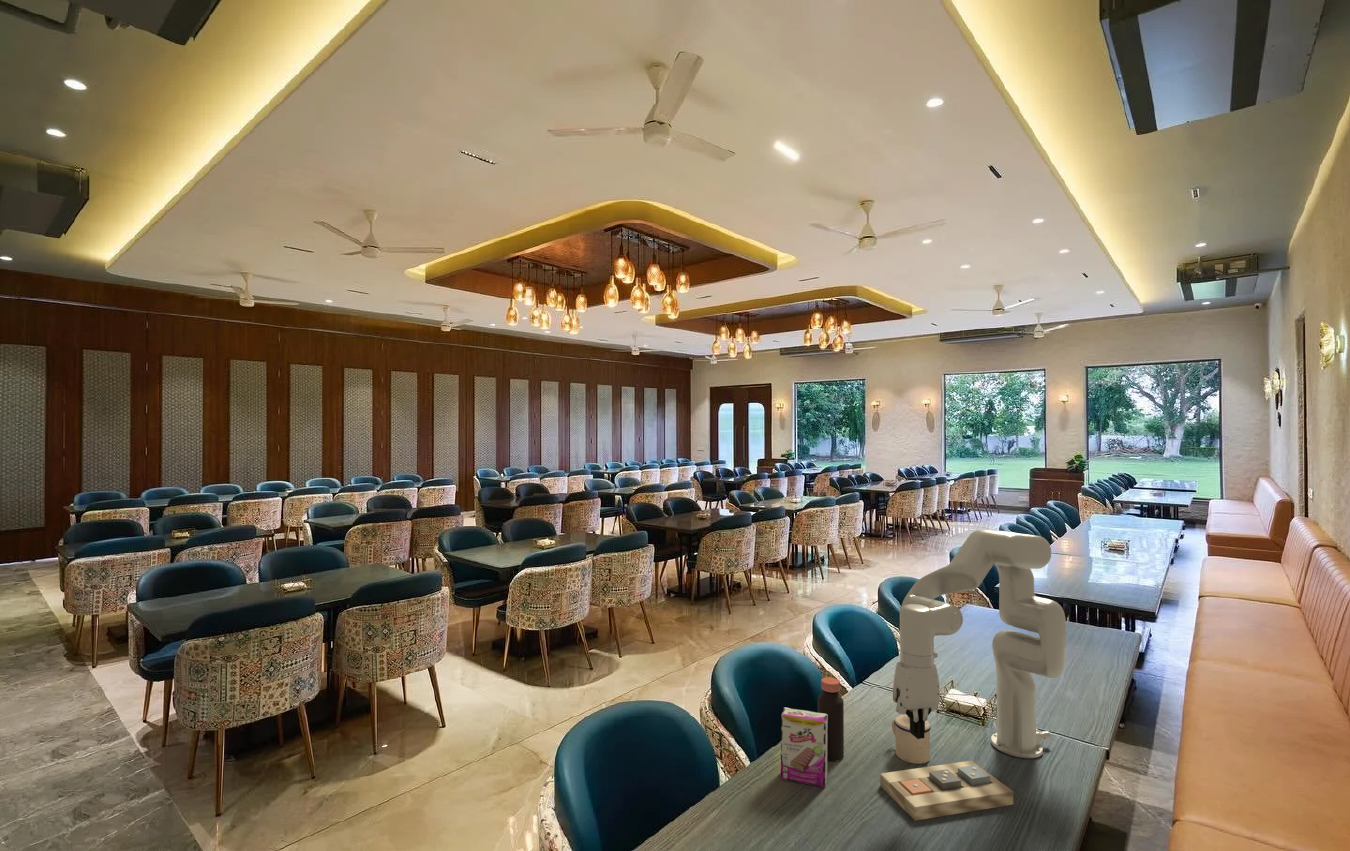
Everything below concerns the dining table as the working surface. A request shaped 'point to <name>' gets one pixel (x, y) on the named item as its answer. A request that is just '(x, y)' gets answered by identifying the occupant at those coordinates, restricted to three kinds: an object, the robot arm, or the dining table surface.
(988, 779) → the key two
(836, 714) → the bottle
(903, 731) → the teacup with lid
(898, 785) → the wooden puzzle board
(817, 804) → the dining table surface
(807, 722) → the candy bar box
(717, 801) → the dining table surface
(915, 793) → the key one
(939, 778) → the key three
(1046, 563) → the robot arm
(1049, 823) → the dining table surface
